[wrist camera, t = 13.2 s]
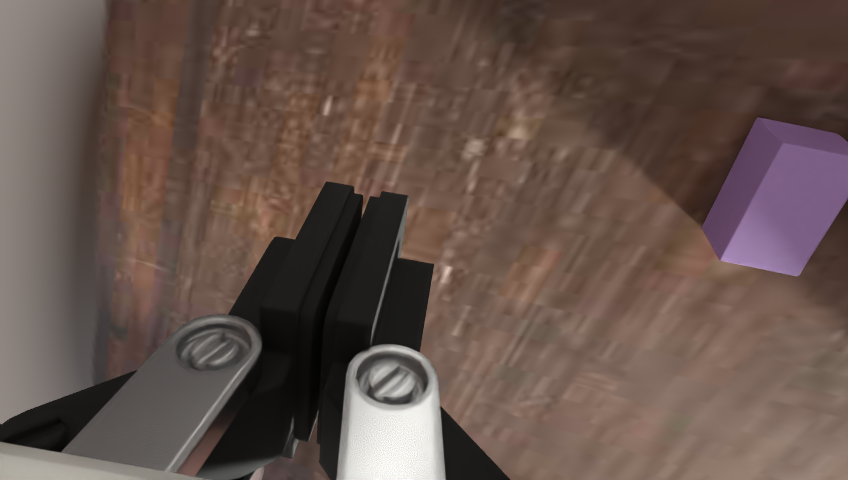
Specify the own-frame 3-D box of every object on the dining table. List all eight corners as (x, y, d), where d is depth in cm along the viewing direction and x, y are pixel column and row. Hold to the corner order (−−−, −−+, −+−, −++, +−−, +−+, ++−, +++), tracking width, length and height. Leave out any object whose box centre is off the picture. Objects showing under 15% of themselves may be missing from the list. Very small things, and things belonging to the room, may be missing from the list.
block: (756, 116, 36) (783, 142, 33) (837, 133, 36) (872, 161, 33) (700, 227, 41) (719, 260, 37) (773, 242, 41) (798, 277, 37)
